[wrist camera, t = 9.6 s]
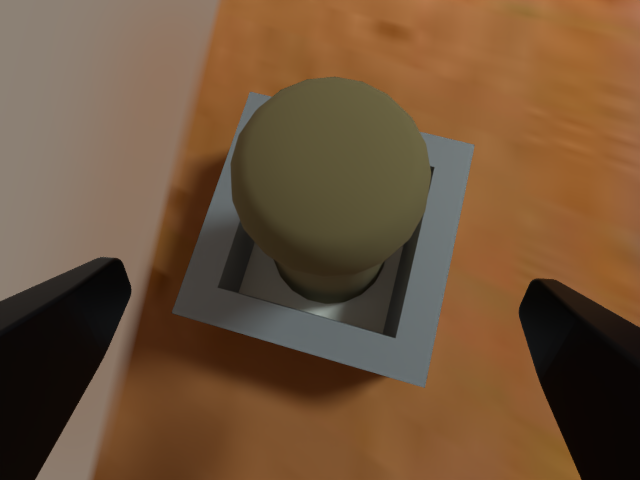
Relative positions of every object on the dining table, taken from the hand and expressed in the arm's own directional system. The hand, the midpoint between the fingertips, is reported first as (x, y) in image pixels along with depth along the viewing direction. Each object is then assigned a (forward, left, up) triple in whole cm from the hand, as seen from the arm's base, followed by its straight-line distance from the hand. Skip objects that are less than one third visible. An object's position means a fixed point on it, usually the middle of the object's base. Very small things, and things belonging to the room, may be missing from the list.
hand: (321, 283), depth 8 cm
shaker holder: (+3, +1, -11) cm, 12 cm away
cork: (+3, +1, -10) cm, 11 cm away
